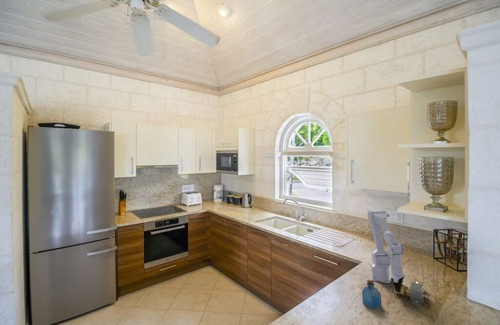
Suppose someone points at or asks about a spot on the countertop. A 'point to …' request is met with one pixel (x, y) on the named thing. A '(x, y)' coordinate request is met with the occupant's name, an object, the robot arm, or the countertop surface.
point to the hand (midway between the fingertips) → (398, 290)
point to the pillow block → (416, 293)
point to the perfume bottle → (371, 295)
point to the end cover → (404, 290)
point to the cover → (420, 283)
